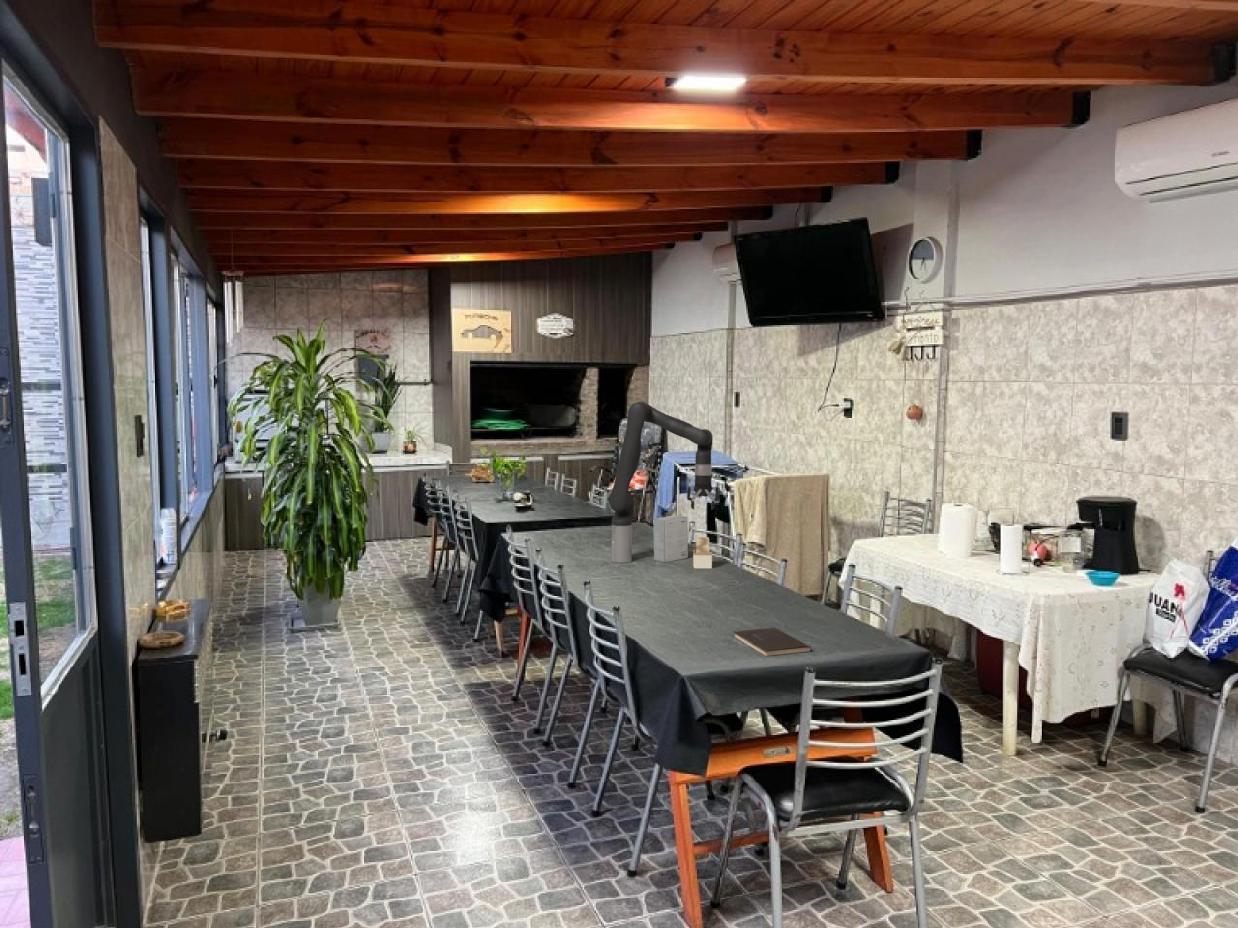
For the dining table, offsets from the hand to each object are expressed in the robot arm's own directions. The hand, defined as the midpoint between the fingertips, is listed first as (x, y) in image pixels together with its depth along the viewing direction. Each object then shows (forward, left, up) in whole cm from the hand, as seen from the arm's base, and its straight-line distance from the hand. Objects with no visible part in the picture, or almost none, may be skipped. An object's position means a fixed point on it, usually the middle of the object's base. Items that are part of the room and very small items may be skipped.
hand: (702, 509), depth 418 cm
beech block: (0, 0, -19) cm, 19 cm away
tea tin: (0, 0, -26) cm, 26 cm away
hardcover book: (+16, -121, -27) cm, 125 cm away
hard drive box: (-14, +16, -26) cm, 34 cm away
